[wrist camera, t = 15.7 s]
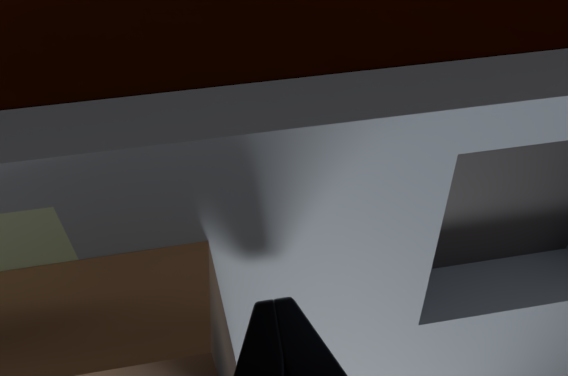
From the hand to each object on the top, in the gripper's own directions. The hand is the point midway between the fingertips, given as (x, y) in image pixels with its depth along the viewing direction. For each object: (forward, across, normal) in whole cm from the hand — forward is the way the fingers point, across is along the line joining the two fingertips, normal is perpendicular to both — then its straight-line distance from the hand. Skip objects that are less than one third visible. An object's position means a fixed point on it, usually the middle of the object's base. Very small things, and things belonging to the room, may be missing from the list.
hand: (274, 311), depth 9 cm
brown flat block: (+1, +3, +1) cm, 4 cm away
